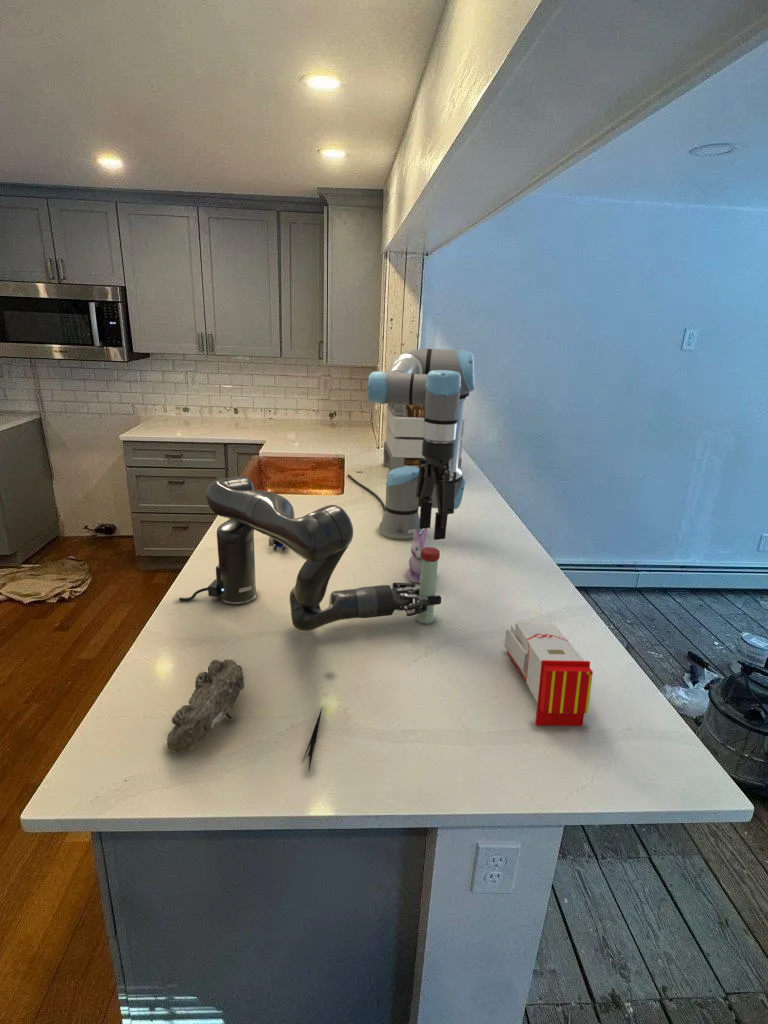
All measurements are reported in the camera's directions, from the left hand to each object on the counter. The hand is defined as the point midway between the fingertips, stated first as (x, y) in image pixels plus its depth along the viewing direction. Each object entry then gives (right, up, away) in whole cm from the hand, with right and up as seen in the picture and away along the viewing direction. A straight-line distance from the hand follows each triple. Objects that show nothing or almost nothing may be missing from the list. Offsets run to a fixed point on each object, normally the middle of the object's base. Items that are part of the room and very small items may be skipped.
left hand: (437, 595), depth 144 cm
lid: (-2, +11, -5) cm, 13 cm away
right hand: (-2, +16, -7) cm, 17 cm away
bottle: (-3, -6, +1) cm, 7 cm away
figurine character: (-47, +10, +42) cm, 64 cm away
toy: (+20, -16, -22) cm, 33 cm away
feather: (-26, -19, -35) cm, 48 cm away
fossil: (-46, -18, -36) cm, 61 cm away
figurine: (-3, +2, +24) cm, 25 cm away
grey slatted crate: (+4, +40, +131) cm, 137 cm away
